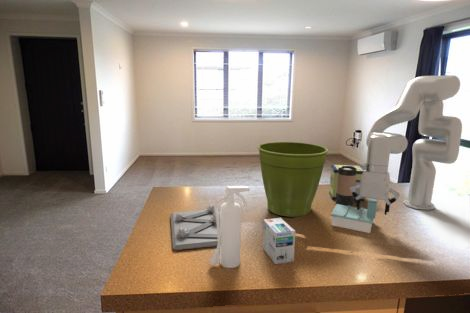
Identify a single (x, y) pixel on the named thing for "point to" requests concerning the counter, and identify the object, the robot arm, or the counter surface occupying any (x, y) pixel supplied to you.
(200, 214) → the grey zigzag panel
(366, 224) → the tub
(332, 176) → the protein box
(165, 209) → the counter surface
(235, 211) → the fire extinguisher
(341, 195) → the travel mug
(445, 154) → the robot arm
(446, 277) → the counter surface
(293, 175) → the plant pot
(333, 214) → the lid
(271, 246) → the light bulb box
